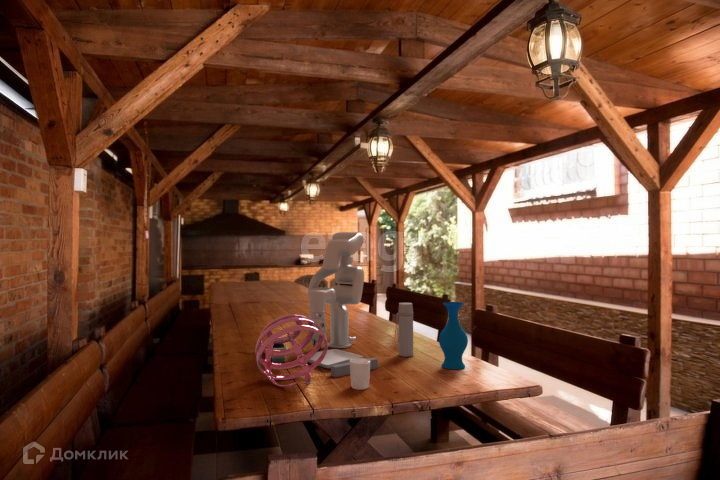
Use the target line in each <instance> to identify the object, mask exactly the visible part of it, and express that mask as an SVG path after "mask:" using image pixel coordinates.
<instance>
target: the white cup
mask: <svg viewBox="0 0 720 480" xmlns="http://www.w3.org/2000/svg"><path fill="white" fill-rule="evenodd" d="M349 375H350V376H349V377H350V385H351V386H350V387H351V388H352V389H354V390H357V391H359V390H360V391H361V390H362V391H363V390H366V389H369V388H370V378H371V377H370V375H371V370H370V360H369V358H365V357H363V358H355V359H351V360H350V374H349Z"/></svg>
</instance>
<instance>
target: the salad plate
mask: <svg viewBox="0 0 720 480" xmlns="http://www.w3.org/2000/svg"><path fill="white" fill-rule="evenodd" d="M322 352H323V350H321V351H320V352H317V353H316V354H315V355H314V356H313V357H312V358H310V359H309V360H308V361H307V363H309V364H310V365H312V364H313V363H314V362H315V361H316V360H317V359H318V358H319V357H320V356H321V354H322ZM355 358H364V355H361V354H357V353H353V352H350V351H345V350H341V349H339V348H330V349H327V353H326V355H325V357H324V359H323V360H322V362H321V363H320V364H319V365H318V366H317V367H321V368H324V369H329V370H331V366H333V365H338V364H343V363H348V362H350V360H351V359H355Z"/></svg>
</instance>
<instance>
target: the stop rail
mask: <svg viewBox="0 0 720 480" xmlns="http://www.w3.org/2000/svg"><path fill="white" fill-rule="evenodd" d="M368 359H369V360H370V371H371V370H376V369H377V370H378V364H379V363H378V358H375V357H370V358H368ZM348 375H350V362H348V363H343V364H338V365H333V366H331V369H330V376H331V377H334V378H338V377H344V376H348Z"/></svg>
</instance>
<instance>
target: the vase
mask: <svg viewBox="0 0 720 480" xmlns="http://www.w3.org/2000/svg"><path fill="white" fill-rule="evenodd" d="M443 305H444V306H445V308H446V309H447V312H448V318H447V323H446V325H445V326H444V327H443V329H442V330H441V332H440V333H439V335H438V336H439V337H438V344H439V346H440V348H441V351H442V352H443V356H444V360H443V362H442V364H441V367H442V368H444V369H447V370H453V371H454V370H455V371H456V370H463V369H465V368H466V365H465V363H464V362H463V355H464V353H465V351H466V349H467V346H468V342H469V339H468V335H467V333H466V331H465V330H464V329H463V327H462V325H461V324H460V322H459V321H460V320H459V316H458V315H459V310H460V308H461V307H462V306H464V302H459V301H457V302H456V301H447V302H443Z"/></svg>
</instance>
